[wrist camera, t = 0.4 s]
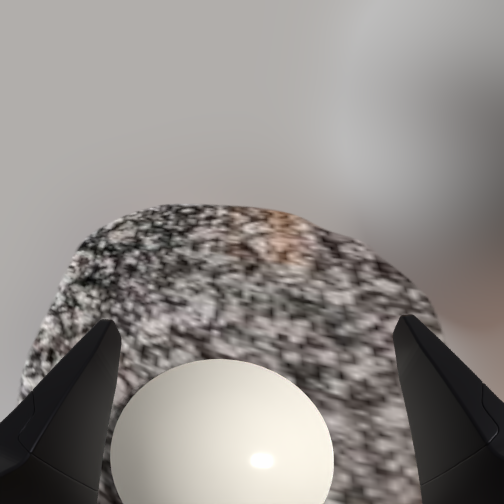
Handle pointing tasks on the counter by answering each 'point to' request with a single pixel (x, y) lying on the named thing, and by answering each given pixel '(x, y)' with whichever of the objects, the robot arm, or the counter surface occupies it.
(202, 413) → the plate
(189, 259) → the counter surface
